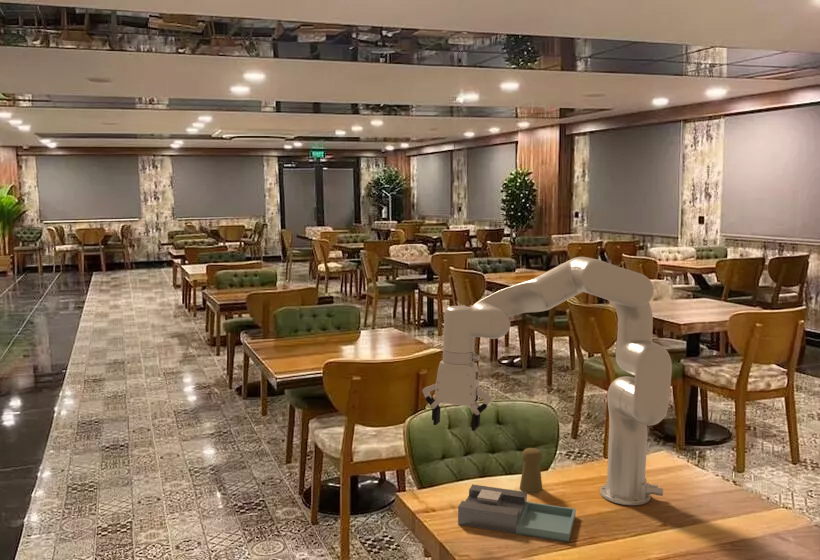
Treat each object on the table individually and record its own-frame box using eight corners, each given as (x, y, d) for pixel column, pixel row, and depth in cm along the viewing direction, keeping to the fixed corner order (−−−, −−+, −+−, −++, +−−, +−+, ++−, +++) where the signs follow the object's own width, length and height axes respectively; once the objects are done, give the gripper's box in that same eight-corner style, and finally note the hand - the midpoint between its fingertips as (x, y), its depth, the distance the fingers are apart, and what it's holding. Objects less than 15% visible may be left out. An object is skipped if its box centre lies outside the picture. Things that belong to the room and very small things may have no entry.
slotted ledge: (526, 509, 182) (527, 492, 181) (516, 533, 169) (516, 515, 168) (472, 501, 186) (472, 484, 186) (457, 524, 173) (458, 506, 172)
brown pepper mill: (542, 494, 191) (543, 454, 189) (519, 492, 192) (520, 452, 191) (542, 485, 197) (544, 446, 195) (520, 483, 198) (521, 444, 197)
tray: (575, 516, 178) (575, 508, 178) (568, 542, 165) (569, 534, 165) (526, 509, 182) (526, 501, 182) (516, 533, 169) (516, 525, 168)
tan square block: (501, 501, 179) (501, 492, 179) (497, 510, 174) (497, 500, 174) (481, 498, 181) (481, 489, 180) (476, 507, 176) (477, 497, 176)
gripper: (497, 358, 175) (493, 427, 177) (429, 350, 181) (426, 417, 183) (489, 364, 168) (486, 436, 170) (419, 356, 174) (416, 425, 176)
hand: (455, 426), depth 177 cm, fingers open, 9 cm apart
